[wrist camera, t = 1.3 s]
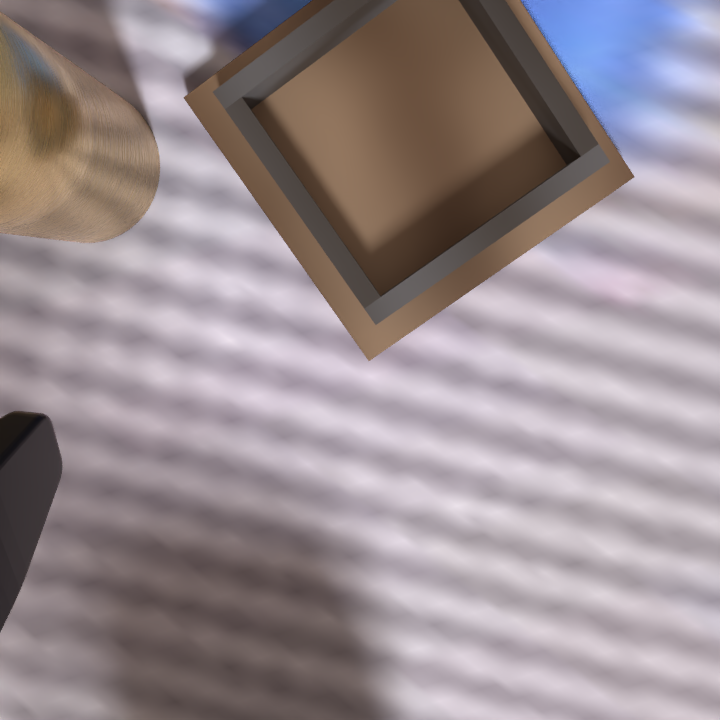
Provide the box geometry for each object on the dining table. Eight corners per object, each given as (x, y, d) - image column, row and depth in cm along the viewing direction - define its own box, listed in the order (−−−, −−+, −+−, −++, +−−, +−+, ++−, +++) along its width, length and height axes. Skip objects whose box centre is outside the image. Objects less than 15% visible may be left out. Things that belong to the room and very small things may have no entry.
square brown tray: (369, 358, 23) (368, 367, 21) (190, 104, 22) (169, 84, 20) (625, 180, 22) (653, 169, 20) (449, -91, 21) (457, -136, 19)
